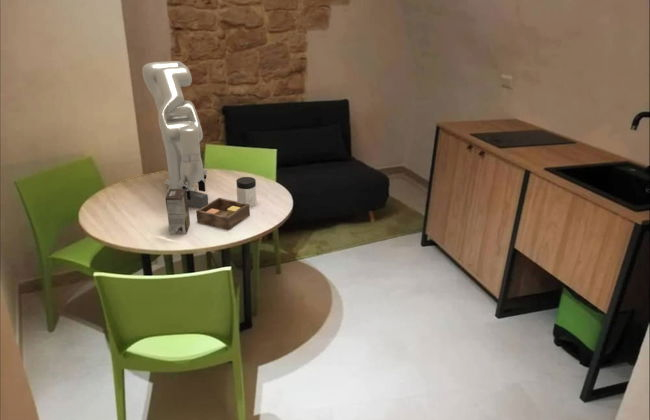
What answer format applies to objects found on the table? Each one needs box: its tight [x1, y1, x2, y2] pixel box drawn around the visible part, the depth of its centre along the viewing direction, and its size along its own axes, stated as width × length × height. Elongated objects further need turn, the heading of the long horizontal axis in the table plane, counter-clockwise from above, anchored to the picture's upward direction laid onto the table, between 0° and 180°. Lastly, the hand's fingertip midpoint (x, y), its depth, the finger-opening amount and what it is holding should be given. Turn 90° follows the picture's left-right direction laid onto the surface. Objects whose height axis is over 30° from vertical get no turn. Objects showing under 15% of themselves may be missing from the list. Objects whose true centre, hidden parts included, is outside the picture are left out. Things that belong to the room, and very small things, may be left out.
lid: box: [187, 190, 209, 210], centre depth 209 cm, size 16×16×7 cm
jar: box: [236, 176, 257, 208], centre depth 210 cm, size 9×8×12 cm
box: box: [196, 197, 251, 231], centre depth 198 cm, size 15×15×6 cm
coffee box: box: [165, 189, 191, 235], centre depth 186 cm, size 9×6×16 cm
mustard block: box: [227, 206, 240, 217], centre depth 199 cm, size 4×4×4 cm
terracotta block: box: [206, 208, 220, 215], centre depth 196 cm, size 4×4×4 cm
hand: (194, 194), depth 207 cm, fingers open, 9 cm apart
